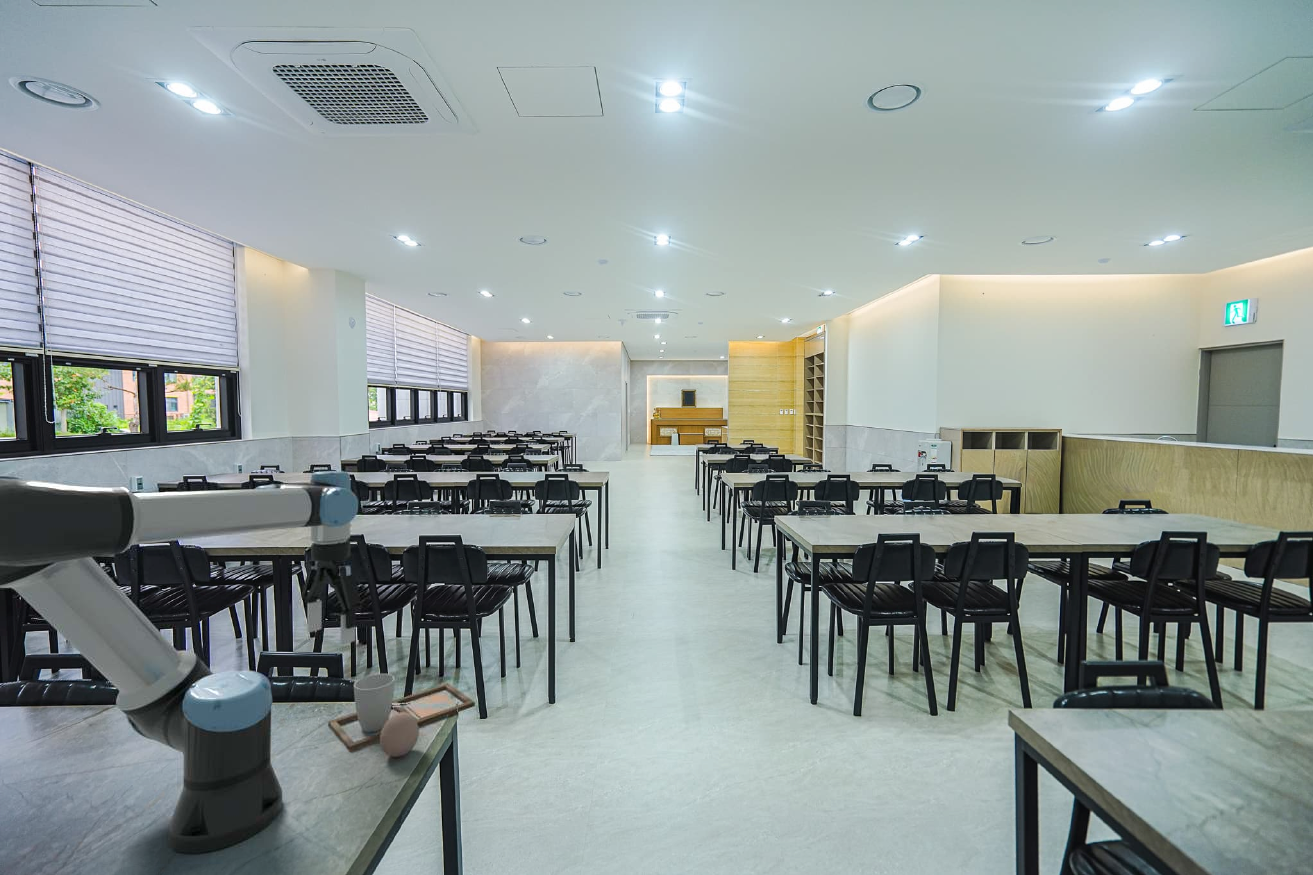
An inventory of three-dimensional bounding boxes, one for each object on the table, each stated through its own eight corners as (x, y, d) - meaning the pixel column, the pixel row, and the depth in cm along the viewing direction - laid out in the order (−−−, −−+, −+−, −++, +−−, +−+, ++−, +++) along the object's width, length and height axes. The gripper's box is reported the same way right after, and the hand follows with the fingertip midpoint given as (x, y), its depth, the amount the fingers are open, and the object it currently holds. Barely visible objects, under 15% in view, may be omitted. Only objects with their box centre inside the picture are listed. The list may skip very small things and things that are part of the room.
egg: (417, 760, 112) (417, 719, 112) (377, 767, 109) (378, 725, 109) (419, 742, 118) (419, 703, 118) (382, 748, 116) (382, 708, 116)
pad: (458, 706, 134) (458, 704, 134) (421, 719, 128) (421, 717, 128) (442, 693, 141) (442, 692, 141) (405, 705, 134) (405, 704, 134)
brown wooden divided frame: (474, 706, 134) (474, 701, 134) (349, 751, 115) (349, 746, 115) (447, 686, 145) (447, 683, 145) (328, 725, 125) (328, 721, 125)
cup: (401, 723, 126) (402, 679, 126) (366, 739, 119) (367, 692, 119) (380, 713, 131) (381, 670, 131) (346, 728, 124) (346, 683, 124)
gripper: (380, 544, 121) (379, 642, 121) (318, 532, 134) (318, 621, 134) (345, 550, 114) (345, 653, 114) (284, 537, 127) (284, 630, 127)
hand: (330, 636), depth 124 cm, fingers open, 13 cm apart
